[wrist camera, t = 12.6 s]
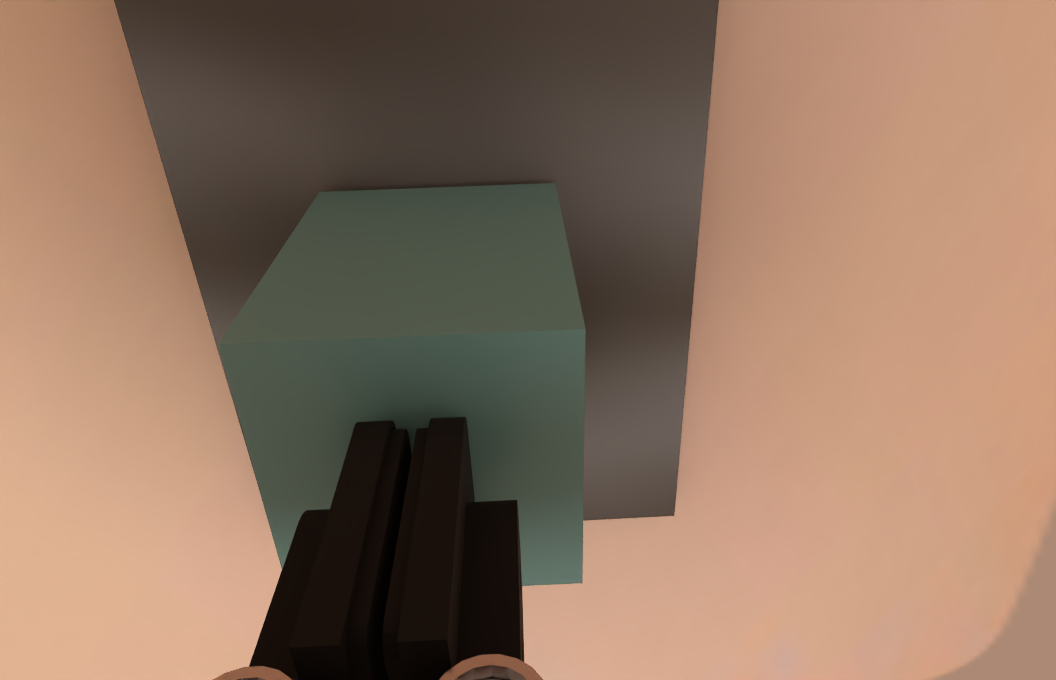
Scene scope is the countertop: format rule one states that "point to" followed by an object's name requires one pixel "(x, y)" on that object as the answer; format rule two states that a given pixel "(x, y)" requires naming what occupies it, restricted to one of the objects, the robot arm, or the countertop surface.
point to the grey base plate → (459, 161)
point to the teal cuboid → (421, 352)
